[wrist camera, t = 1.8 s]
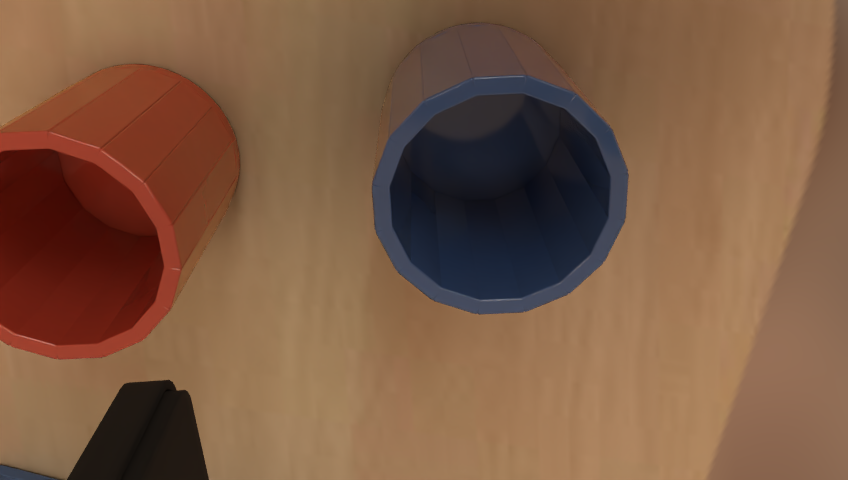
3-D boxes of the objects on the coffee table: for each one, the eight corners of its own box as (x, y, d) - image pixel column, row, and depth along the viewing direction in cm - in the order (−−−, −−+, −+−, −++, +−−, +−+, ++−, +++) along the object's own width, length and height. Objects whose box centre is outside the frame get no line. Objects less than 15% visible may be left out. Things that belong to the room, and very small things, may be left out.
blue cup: (420, -7, 22) (424, 36, 16) (600, 61, 23) (672, 128, 17) (358, 170, 24) (340, 272, 18) (525, 227, 25) (564, 342, 19)
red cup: (70, 36, 23) (-64, 94, 16) (261, 101, 23) (204, 182, 17) (39, 207, 25) (-90, 319, 18) (215, 261, 26) (150, 386, 19)
